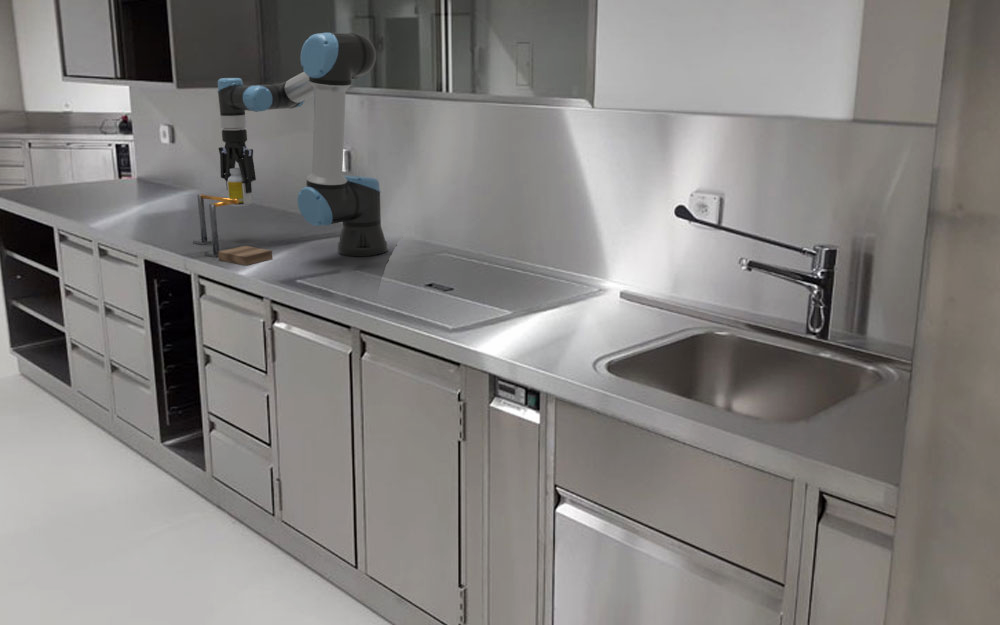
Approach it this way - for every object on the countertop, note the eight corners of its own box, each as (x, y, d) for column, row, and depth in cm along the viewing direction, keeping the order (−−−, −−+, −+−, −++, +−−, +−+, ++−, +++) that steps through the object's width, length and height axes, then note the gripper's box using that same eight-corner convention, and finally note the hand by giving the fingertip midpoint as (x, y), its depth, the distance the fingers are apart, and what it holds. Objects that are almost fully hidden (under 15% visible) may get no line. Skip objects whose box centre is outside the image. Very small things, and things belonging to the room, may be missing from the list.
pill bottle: (245, 207, 292) (242, 170, 289) (226, 206, 294) (223, 169, 290) (254, 203, 299) (251, 167, 295) (235, 203, 300) (232, 167, 297)
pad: (272, 258, 275) (271, 250, 275) (246, 265, 267) (245, 257, 267) (245, 253, 282) (244, 245, 281) (218, 259, 274) (218, 251, 273)
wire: (251, 248, 288) (247, 198, 283) (215, 257, 277) (210, 204, 272) (205, 240, 300) (201, 191, 295) (169, 248, 289) (164, 197, 284)
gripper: (264, 129, 287) (270, 203, 293) (223, 126, 298) (229, 197, 304) (245, 131, 281) (251, 206, 288) (204, 128, 292) (210, 200, 298)
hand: (240, 201), depth 296 cm, fingers closed on pill bottle, 6 cm apart
